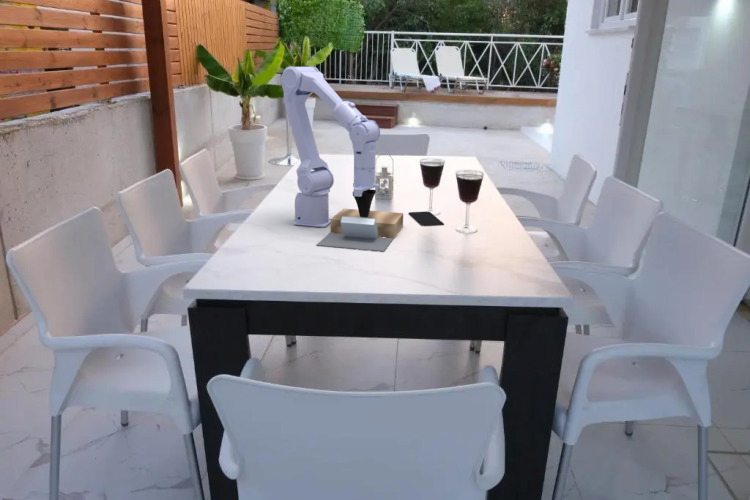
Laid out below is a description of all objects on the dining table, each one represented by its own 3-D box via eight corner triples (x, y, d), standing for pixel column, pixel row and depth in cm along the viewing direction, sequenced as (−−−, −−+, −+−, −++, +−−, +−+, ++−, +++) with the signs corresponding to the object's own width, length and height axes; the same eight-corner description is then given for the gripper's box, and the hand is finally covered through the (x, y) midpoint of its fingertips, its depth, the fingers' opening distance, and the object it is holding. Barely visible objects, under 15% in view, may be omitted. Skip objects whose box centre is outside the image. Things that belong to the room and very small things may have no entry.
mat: (316, 245, 152) (316, 244, 152) (329, 233, 163) (329, 232, 163) (384, 252, 148) (384, 250, 148) (393, 239, 159) (393, 238, 158)
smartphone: (421, 225, 171) (407, 212, 185) (421, 227, 171) (407, 214, 185) (445, 224, 172) (429, 211, 186) (445, 226, 173) (429, 213, 186)
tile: (346, 230, 161) (344, 236, 160) (342, 216, 156) (340, 222, 155) (378, 233, 159) (376, 238, 158) (375, 219, 154) (373, 224, 153)
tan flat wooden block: (330, 232, 164) (330, 218, 162) (343, 221, 175) (343, 208, 173) (394, 238, 159) (394, 224, 158) (402, 226, 171) (403, 213, 169)
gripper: (372, 173, 150) (371, 224, 154) (385, 163, 163) (384, 211, 168) (345, 171, 151) (346, 222, 156) (360, 162, 165) (360, 209, 169)
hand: (364, 216), depth 162 cm, fingers closed
